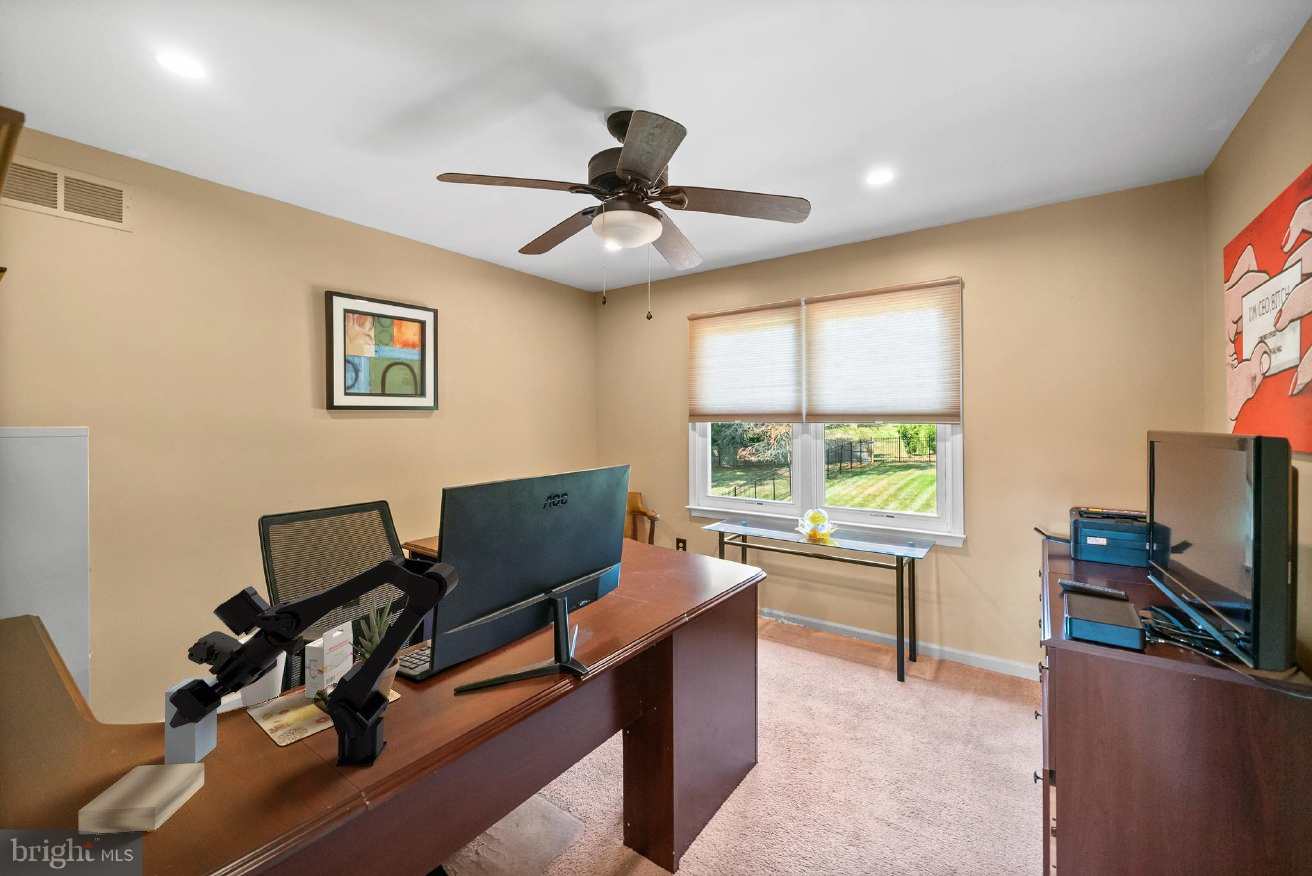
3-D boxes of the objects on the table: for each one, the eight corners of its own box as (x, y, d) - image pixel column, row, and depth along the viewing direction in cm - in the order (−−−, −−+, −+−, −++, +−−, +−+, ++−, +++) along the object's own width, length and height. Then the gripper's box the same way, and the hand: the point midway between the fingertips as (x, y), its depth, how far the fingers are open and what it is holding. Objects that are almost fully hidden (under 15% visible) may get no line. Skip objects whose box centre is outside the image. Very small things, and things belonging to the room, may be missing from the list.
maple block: (204, 786, 88) (204, 762, 87) (155, 832, 78) (155, 806, 78) (137, 789, 86) (137, 765, 86) (78, 837, 76) (78, 810, 76)
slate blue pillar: (216, 746, 97) (217, 677, 97) (195, 763, 92) (195, 691, 92) (187, 746, 97) (188, 677, 96) (164, 764, 92) (165, 691, 92)
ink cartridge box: (334, 679, 123) (335, 617, 123) (353, 681, 122) (354, 619, 122) (303, 697, 115) (304, 631, 114) (322, 700, 114) (323, 634, 113)
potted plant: (396, 681, 123) (398, 577, 122) (401, 700, 115) (403, 589, 114) (346, 691, 118) (348, 583, 117) (348, 712, 110) (350, 596, 109)
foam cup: (296, 687, 119) (297, 631, 118) (273, 709, 110) (273, 648, 109) (249, 689, 117) (250, 632, 117) (222, 712, 108) (223, 650, 108)
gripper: (262, 602, 103) (203, 655, 103) (182, 641, 85) (109, 707, 85) (303, 642, 104) (244, 695, 104) (232, 690, 86) (160, 756, 85)
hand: (193, 710), depth 94 cm, fingers open, 9 cm apart
